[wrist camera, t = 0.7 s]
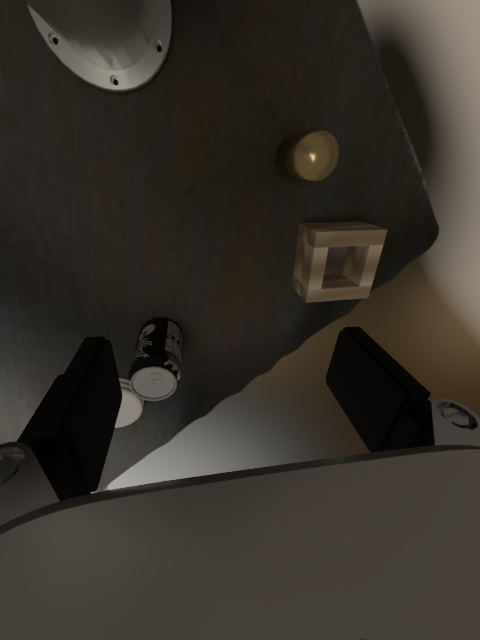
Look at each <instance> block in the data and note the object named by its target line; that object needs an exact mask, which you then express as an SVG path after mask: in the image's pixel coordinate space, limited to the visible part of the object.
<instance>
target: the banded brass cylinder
mask: <svg viewBox="0 0 480 640" xmlns="http://www.w3.org/2000/svg"><path fill="white" fill-rule="evenodd" d="M338 155H339V148H338V144H337V141H336V139H335V138H334V136H333V135H332V134H330V133H329V132H326V131H317V132H313V133H309V134H305V135H302V136H298V137H294V138H290V139H287V140H286V141H284V142H283V143H282V144H281V145H280V147H279V149H278V151H277V154H276V166H277V169H278V171H279V172H280V174H282V175H283V176H284V177H287V178H294V179H302V180H310V181H319V180H322V179H324V178H326V177H327V176H328V175H330V173H331V172H332V171H333V170H334V168H335V166H336V164H337V161H338Z"/></svg>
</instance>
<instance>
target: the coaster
mask: <svg viewBox="0 0 480 640" xmlns="http://www.w3.org/2000/svg"><path fill="white" fill-rule="evenodd" d="M119 381H120V386H121V390H122V403H121V406H120V410H119V413H118V417H117V421H116V424H115V428H118V427H123V426H126V425H129V424H131V423H133V422H134V421H136V420H137V419H138V418H139V417H140V415H141V413H142V410H143V405H144V399H142V398H139V397H138V396H136V395H135V394H134V393H133V392H132V390H131V388H130V381H129V379H126V378H121V377H119Z"/></svg>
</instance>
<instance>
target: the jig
mask: <svg viewBox="0 0 480 640" xmlns="http://www.w3.org/2000/svg"><path fill="white" fill-rule="evenodd" d="M386 234H387V229H384V228H381V227H378V226H375V225H372V224H368V223H365V222H362V221H358V222H322V223H299V230H298V239H297V248H296V256H295V265H294V273H293V282H292V287H293V288H294V289H295V291H296V292H297V293H298V294H299V295H300V296H301V297H302V299H303V300H304V301H305V302H306V303H308V302H321V301H334V300H346V299H359V298H368V297H369V293H370V290H371V286H372V283H373V279H374V276H375V272H376V269H377V265H378V262H379V258H380V255H381V251H382V248H383V244H384V241H385V237H386Z"/></svg>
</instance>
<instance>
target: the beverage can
mask: <svg viewBox="0 0 480 640" xmlns="http://www.w3.org/2000/svg"><path fill="white" fill-rule="evenodd" d="M181 340H182V335H181V331H180V329H179V328H178V326H177V325H176V324H174V323H173V322H171V321H169V320H165V319H155V320H152V321H149V322H148V323H146V324H145V325H144V326H143V327H142V329H141V331H140V335H139V338H138V342H137V345H136V349H135V353H134V356H133V360H132V363H131V367H130V371H129V381H130V388H131V390H132V392H133V393H134V394H135V395H136V396H138V397H139V398H142V399H144V400H150V401H157V400H162V399H165V398H167V397H169V396H170V395H171V394H173V392H174V391H175V389H176V386H177V384H178V383H179V381H180V373H181Z"/></svg>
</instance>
